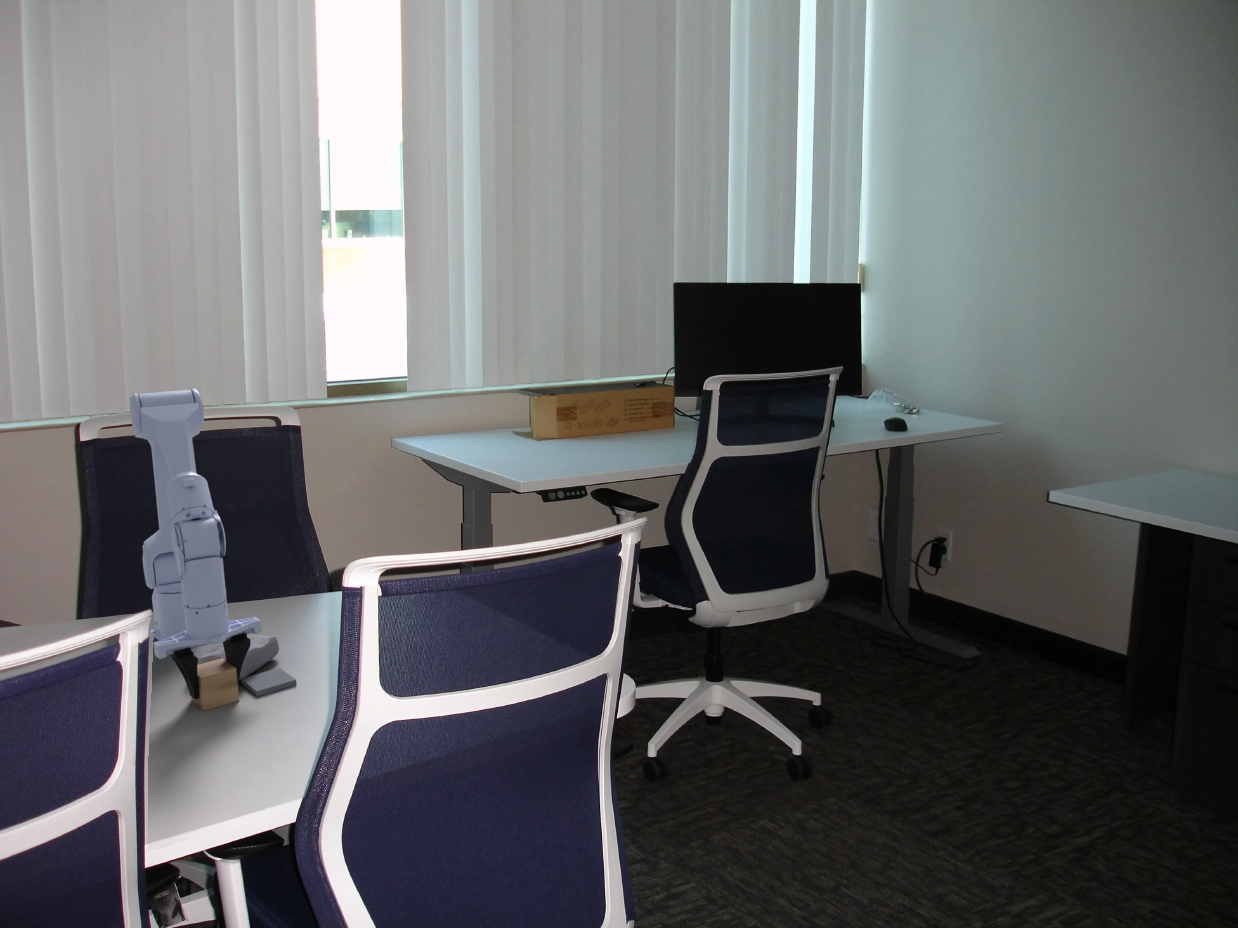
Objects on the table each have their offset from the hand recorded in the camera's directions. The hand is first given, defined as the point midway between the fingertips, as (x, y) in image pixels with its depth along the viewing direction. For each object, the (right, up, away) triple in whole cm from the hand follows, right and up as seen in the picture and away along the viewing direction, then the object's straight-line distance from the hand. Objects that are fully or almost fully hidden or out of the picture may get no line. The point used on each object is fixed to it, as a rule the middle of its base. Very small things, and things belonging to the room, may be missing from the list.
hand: (214, 690), depth 151 cm
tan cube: (0, -1, 0) cm, 1 cm away
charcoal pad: (+6, 0, +5) cm, 8 cm away
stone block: (-1, +1, +11) cm, 11 cm away
